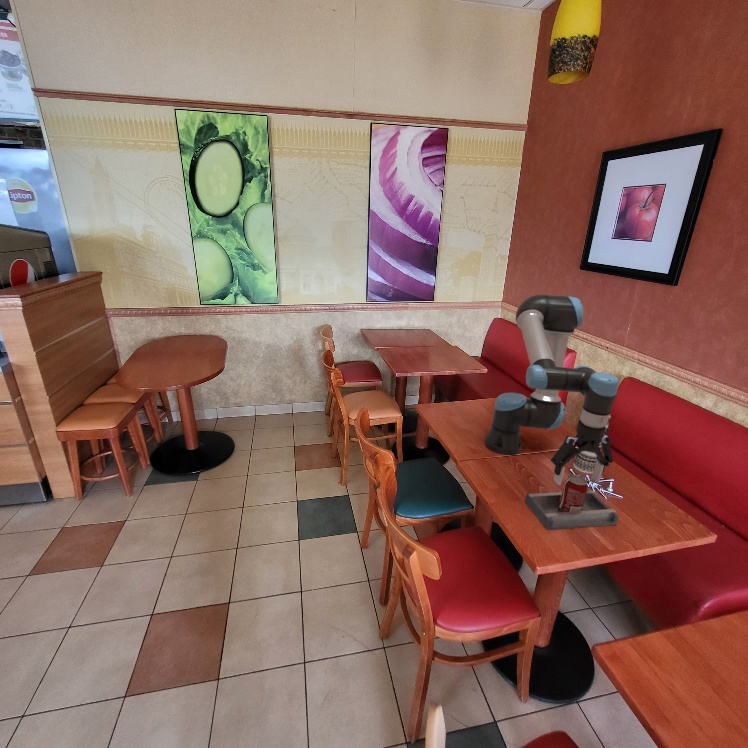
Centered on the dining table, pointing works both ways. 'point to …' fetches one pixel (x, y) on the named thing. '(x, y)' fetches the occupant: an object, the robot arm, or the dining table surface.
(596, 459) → the decorative candle
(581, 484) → the soda can
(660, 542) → the dining table surface
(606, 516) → the tray
